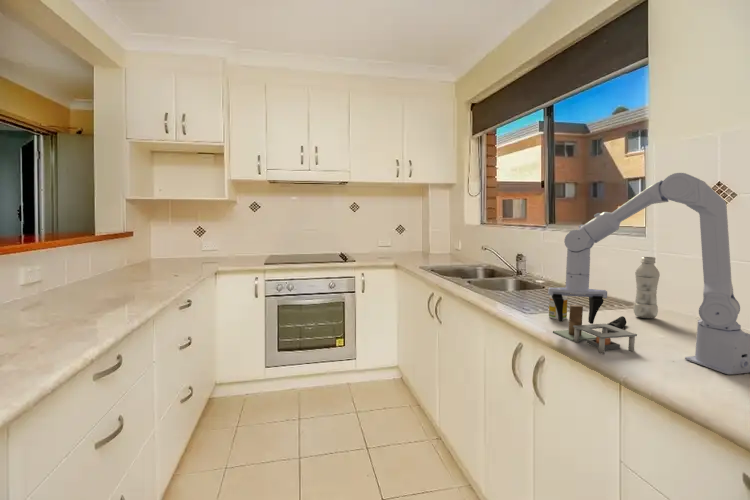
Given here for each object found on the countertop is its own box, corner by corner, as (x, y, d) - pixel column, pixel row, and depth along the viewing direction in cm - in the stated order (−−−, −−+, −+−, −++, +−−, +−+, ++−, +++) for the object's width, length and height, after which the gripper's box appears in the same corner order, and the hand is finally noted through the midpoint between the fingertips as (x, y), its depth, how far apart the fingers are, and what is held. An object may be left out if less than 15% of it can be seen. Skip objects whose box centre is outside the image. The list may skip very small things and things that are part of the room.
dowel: (579, 332, 109) (581, 305, 109) (582, 336, 106) (584, 307, 106) (567, 332, 110) (568, 304, 110) (569, 335, 107) (571, 306, 106)
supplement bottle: (567, 317, 128) (568, 288, 128) (565, 320, 124) (567, 290, 123) (549, 314, 131) (550, 286, 130) (547, 318, 127) (548, 289, 126)
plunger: (613, 347, 98) (613, 339, 98) (602, 347, 98) (602, 340, 98) (603, 343, 102) (603, 335, 101) (592, 343, 101) (593, 336, 101)
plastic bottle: (662, 320, 124) (665, 258, 122) (638, 320, 125) (642, 258, 123) (650, 315, 130) (654, 256, 128) (628, 315, 131) (632, 256, 129)
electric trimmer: (630, 327, 119) (630, 316, 118) (615, 337, 108) (616, 326, 108) (615, 324, 121) (616, 314, 121) (600, 334, 110) (601, 323, 110)
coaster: (598, 339, 105) (598, 337, 105) (572, 341, 104) (572, 339, 104) (577, 330, 113) (577, 329, 113) (552, 332, 111) (553, 330, 111)
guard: (636, 351, 96) (637, 334, 96) (601, 353, 94) (602, 337, 93) (604, 338, 106) (605, 323, 105) (572, 341, 104) (573, 325, 103)
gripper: (551, 274, 105) (549, 323, 106) (611, 276, 101) (609, 327, 102) (547, 271, 112) (545, 317, 113) (603, 273, 108) (601, 320, 109)
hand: (575, 321), depth 108 cm, fingers open, 7 cm apart
